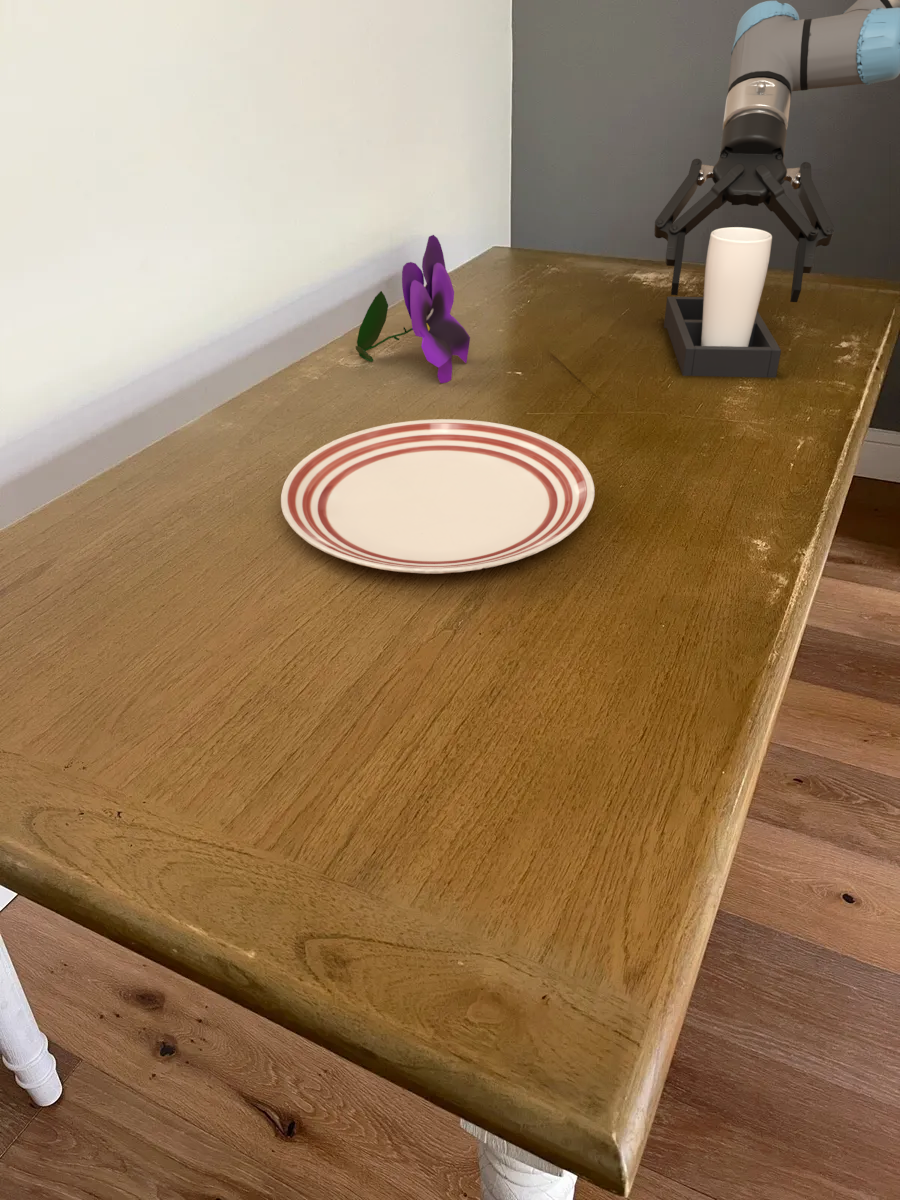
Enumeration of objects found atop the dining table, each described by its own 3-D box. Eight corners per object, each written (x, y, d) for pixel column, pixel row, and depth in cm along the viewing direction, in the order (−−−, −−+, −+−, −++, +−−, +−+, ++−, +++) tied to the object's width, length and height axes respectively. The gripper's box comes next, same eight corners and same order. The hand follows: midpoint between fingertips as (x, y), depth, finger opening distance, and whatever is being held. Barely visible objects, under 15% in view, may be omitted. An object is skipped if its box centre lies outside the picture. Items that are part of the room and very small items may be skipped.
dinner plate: (544, 627, 71) (546, 589, 69) (224, 563, 79) (218, 528, 77) (621, 471, 92) (624, 439, 91) (363, 433, 100) (361, 403, 99)
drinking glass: (687, 371, 112) (705, 238, 104) (697, 352, 118) (715, 224, 109) (746, 378, 110) (769, 243, 102) (754, 359, 115) (776, 229, 107)
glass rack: (743, 332, 126) (749, 297, 124) (773, 389, 110) (781, 350, 107) (663, 331, 127) (667, 296, 124) (681, 387, 110) (686, 348, 108)
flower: (362, 425, 115) (456, 385, 108) (299, 309, 109) (393, 260, 102) (406, 382, 126) (493, 344, 119) (350, 275, 121) (438, 229, 114)
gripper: (649, 107, 114) (626, 269, 110) (872, 111, 109) (855, 281, 105) (648, 148, 121) (626, 302, 117) (857, 154, 116) (840, 315, 112)
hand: (734, 293), depth 111 cm, fingers open, 13 cm apart
